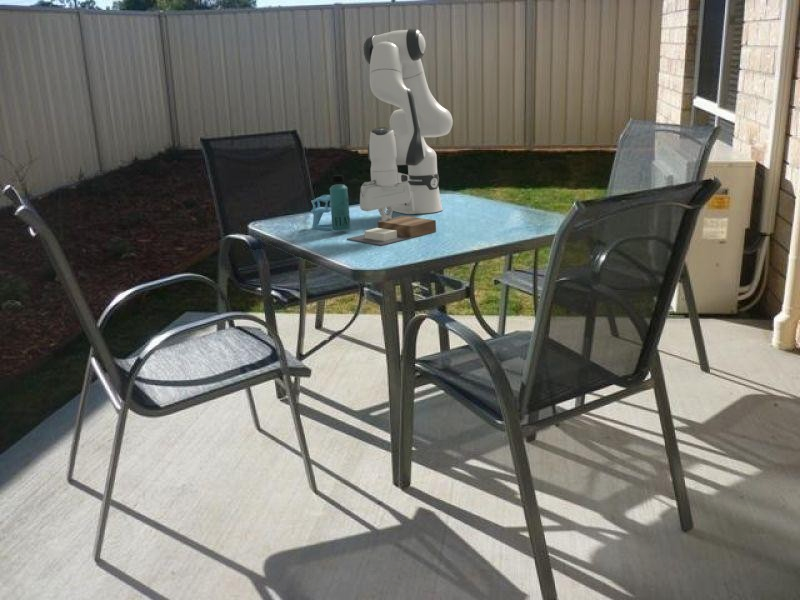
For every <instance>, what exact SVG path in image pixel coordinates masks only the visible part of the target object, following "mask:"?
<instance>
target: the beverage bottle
mask: <svg viewBox="0 0 800 600" xmlns="http://www.w3.org/2000/svg"><path fill="white" fill-rule="evenodd" d="M344 181H345V178H344V175H343V174H335V175H332V176H331V182H332V183H338V184H333V185H331V186H330V188H329V195H330V200H331V211H330V215H331V224H332V228H333V230H332V231H347V230H350V229H351V218H350V214H351V213H350V211H351V210H350V200H349V192H348V186H347V185H345V184H342V182H344ZM340 182H341V183H340ZM339 183H340V184H339ZM330 200H329V201H330Z"/></svg>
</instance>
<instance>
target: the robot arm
mask: <svg viewBox="0 0 800 600" xmlns="http://www.w3.org/2000/svg"><path fill="white" fill-rule="evenodd" d="M426 45H427V44H426V40H425V36H424V34H423V32H422V31H420V30H419V29H417V28H409V29H400V30H399V29H398V30H391V31H388V32H385V33H381V34H378V35H376V34H374V35H371V36H370V37H368V38H366V40H365V41H364V43H363V56H364V59H365V61H366V63H368V64H369V87H370V90H371V93H372V95H373V96H375V98H377V99H378V100H380V101H381V102H384V103H386V104H389V105H393V106H395V107H397V108H399V109H396V110H393V112H392V113H391V115H390V118H389V126H388V127H387V126H383V127H382V126H381V127H376V128H374V129H373V128H372V130H370V132H369V133H370V134H369V143H368V144H367V157H368V158H367V159H368V160H369V161H370V162H371V163H370V181H364V182H363V183H362V185H361V186H360V193H359V208H360V209H361V211H364V212H371V211H376V210H378V213H379V215H380V216H381V220H382V221H388V220H391V219H392V218H393V217H392V215H393V212H394V213H401V214H405V215H415V214H418V215H419V214H420V215H421V214H432V213H438V212H441V211H443V210H444V208H443V204H442V200H441V194H440V188H439V183H440V182H439V181H440V177H439V173H438V159H437V158H438V157H437V153H436V151H435V150H434V149H433V148H432V147H430V146H429V145H428V144H427V142H426V140H425V138H438V137H443V136H447V135H448V134H449V133H451V131H452V128H453V125H454V119H453V116H452V114H451V112H450V111H449V109H448V108H447V109H446V108H445V107H443V106H442V105H441V104H440V103H439V102H438V101H437V100H436V99H435V97H434V96H433V94H432V92H431V90H430V88H429V85H428V81H427V78H426V73H425V69H424V65H423V61H422V60H421V59H422V58H423V56H424V55H425V53H426V47H427V46H426ZM398 166H407V171H408V173H407V174H405V173H402V172H399V171H398ZM386 210H387V211H386Z"/></svg>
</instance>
